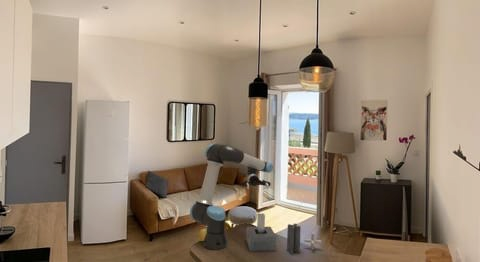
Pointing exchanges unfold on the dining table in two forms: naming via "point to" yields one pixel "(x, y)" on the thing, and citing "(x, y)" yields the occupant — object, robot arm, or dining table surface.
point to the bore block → (261, 239)
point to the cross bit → (293, 238)
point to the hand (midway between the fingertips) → (258, 186)
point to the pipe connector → (312, 241)
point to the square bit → (260, 223)
